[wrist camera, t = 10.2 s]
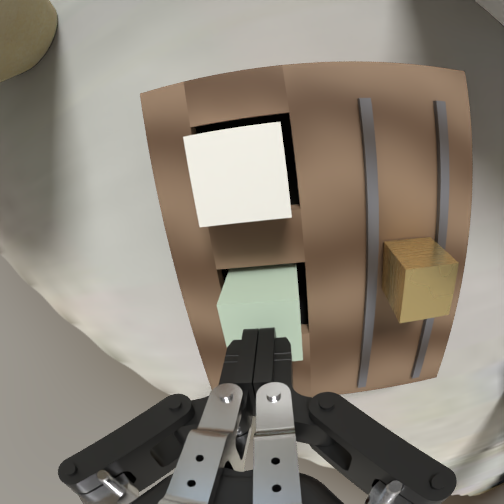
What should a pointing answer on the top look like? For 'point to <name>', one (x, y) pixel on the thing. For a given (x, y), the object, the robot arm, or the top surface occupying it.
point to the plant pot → (24, 34)
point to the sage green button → (262, 303)
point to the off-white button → (238, 174)
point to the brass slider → (418, 278)
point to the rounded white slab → (494, 8)
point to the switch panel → (328, 207)
